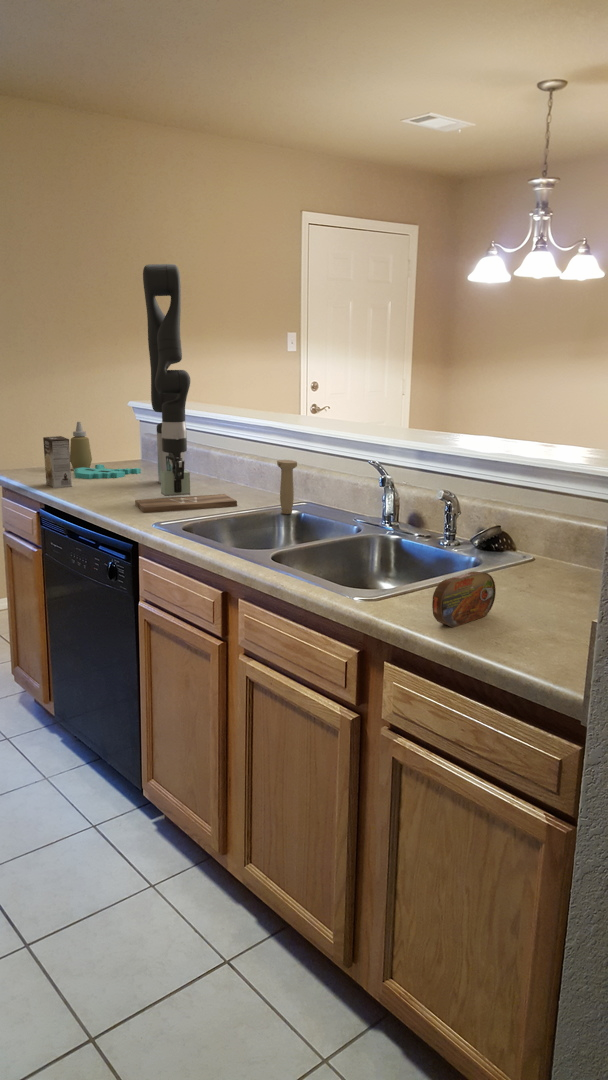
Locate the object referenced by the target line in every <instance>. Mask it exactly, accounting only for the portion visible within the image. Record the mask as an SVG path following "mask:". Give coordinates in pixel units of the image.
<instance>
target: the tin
mask: <svg viewBox="0 0 608 1080" xmlns="http://www.w3.org/2000/svg"><path fill="white" fill-rule="evenodd" d="M495 583H496V582H495V580H494V579H493V577H492V576H491V575H490V573H487V572H481V571H470V572H466V573H462V574H459V575H456V576H453V577H449V578H446V579H445V578H444V580H442V581H441V582H439V584H437V586H436V588H435V589H434V591H433V594H432V603H431V605H432V609H431V610H432V614H433V618H434V619H435V620H436V622H438V623H439V624H441V625H444V626H445V625H446V626H449V627H450V628H456V627H459V626H463V625H464V624H467V623H468V624H469V623H471V622H473V621H476V620H480V619H482V618H485V617H486V616H487V615H488V614H489V612H490V611H491V610H492V608H493V605H494V602H495V598H496V584H495Z"/></svg>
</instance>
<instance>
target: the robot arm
mask: <svg viewBox="0 0 608 1080" xmlns="http://www.w3.org/2000/svg"><path fill="white" fill-rule="evenodd" d="M142 283H143V291H144V299H145V307H146V315H147V316H146V317H147V318H146V319H147V321H146V322H147V343H148V354H149V365H150V398H151V399H150V403H151V407H152V408H151V409H152V410H153V411H154V412H156V413H161V422H160V423H158V424H157V425H156V448H157V453H156V454H157V479H158V483H159V484H161V475H160V471H171V473H173V479H174V492H175V493H180V492H182V485H181V480H182V479H184V470H186V463H185V461H186V459H185V456H186V455H185V454H186V452H187V450H188V446H187V445H188V444H187V441H188V440H187V439H188V438H187V426H186V403H187V398H188V394H189V391H190V387H191V376H190V374H189V372H187V370H184V369H169V368H170V366H172V365H174V364H178V363H180V362H181V361H182V360H183V353H182V352H183V351H182V341H181V339H182V338H181V310H182V309H181V306H182V305H181V304H182V302H181V301H182V300H181V299H182V297H181V296H182V294H181V291H182V289H181V288H182V286H181V285H182V284H181V283H182V282H181V275H180V270H179V268H178V266H177V265H176V264H175V263H156V264H155V263H154V264H153V263H152V264H151V263H150V264H146V265H144V267H143V270H142ZM157 297H170V304H169V307H168V310H167V312H166V314H164V312H163V310H162V309H161V307H160V305H159V303H158V301H157ZM178 473H180V475H178Z"/></svg>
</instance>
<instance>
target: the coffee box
mask: <svg viewBox="0 0 608 1080" xmlns="http://www.w3.org/2000/svg"><path fill="white" fill-rule="evenodd" d="M42 439H43V453H44V467H45V468H44V469H45V481H46V482H45V483H46V485H48V486H50V487H52V488H53V489H59V488H68V487H69V488H70V487H73V486H72V469H71V467H72V464H71V462H70V445H71V444H70V439H69V438H67V437H64V436H62V435H58V436H57V435H56V436H44V437H42Z"/></svg>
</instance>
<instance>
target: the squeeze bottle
mask: <svg viewBox="0 0 608 1080" xmlns="http://www.w3.org/2000/svg"><path fill="white" fill-rule="evenodd" d="M69 445H70V465H71V467H72V469H73V470H74V469H76V468H82V467H85V468H91V464H92V461H93V457H92V452H91V445H90V439H89V437H87V432H86V431H84V430H83V425H82V423H81V421H77V422H76V428H75V430H74V431H73V432H72V437H71V438H70V444H69Z"/></svg>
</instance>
